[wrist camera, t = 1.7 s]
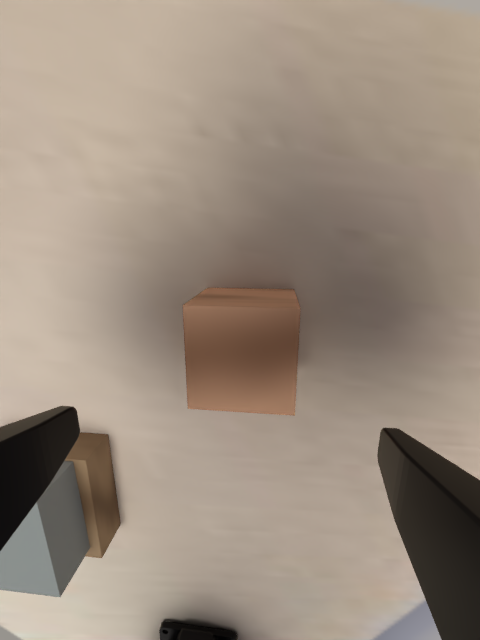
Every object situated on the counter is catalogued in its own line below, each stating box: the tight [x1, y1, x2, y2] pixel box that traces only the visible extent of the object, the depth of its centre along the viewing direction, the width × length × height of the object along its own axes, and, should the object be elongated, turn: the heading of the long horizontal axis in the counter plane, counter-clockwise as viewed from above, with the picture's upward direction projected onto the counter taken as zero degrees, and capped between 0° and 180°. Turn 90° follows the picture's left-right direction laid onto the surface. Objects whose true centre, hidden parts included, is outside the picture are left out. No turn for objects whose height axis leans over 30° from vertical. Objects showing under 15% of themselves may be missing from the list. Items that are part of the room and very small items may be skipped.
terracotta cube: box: [183, 288, 300, 416], centre depth 16 cm, size 5×5×5 cm
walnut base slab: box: [65, 433, 120, 558], centre depth 22 cm, size 8×8×3 cm
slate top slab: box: [0, 461, 90, 597], centre depth 19 cm, size 7×7×3 cm
